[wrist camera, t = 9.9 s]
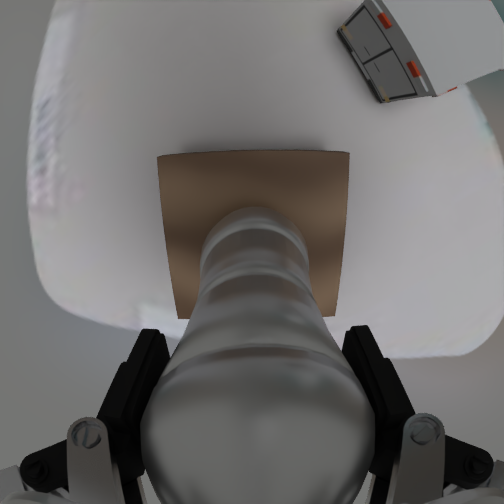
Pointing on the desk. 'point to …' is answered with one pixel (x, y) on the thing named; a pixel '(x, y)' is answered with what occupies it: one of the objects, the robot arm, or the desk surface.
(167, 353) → the robot arm
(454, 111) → the desk surface
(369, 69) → the toy vehicle
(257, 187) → the walnut stand
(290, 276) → the plastic bottle
